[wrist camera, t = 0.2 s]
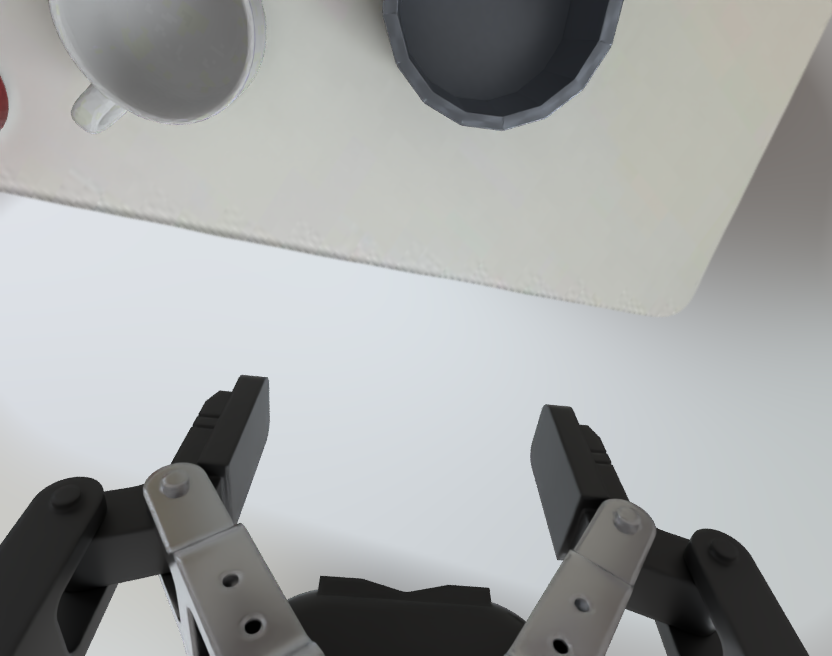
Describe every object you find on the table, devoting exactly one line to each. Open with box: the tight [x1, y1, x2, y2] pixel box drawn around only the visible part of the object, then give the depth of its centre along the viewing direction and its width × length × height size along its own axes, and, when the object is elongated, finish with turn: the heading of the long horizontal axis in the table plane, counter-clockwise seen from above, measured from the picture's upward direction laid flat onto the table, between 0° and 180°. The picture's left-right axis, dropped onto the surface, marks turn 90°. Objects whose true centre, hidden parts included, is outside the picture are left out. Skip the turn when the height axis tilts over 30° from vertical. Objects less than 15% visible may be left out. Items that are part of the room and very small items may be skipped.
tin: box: [383, 0, 624, 131], centre depth 32 cm, size 13×13×8 cm
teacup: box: [48, 0, 266, 134], centre depth 33 cm, size 14×11×8 cm
